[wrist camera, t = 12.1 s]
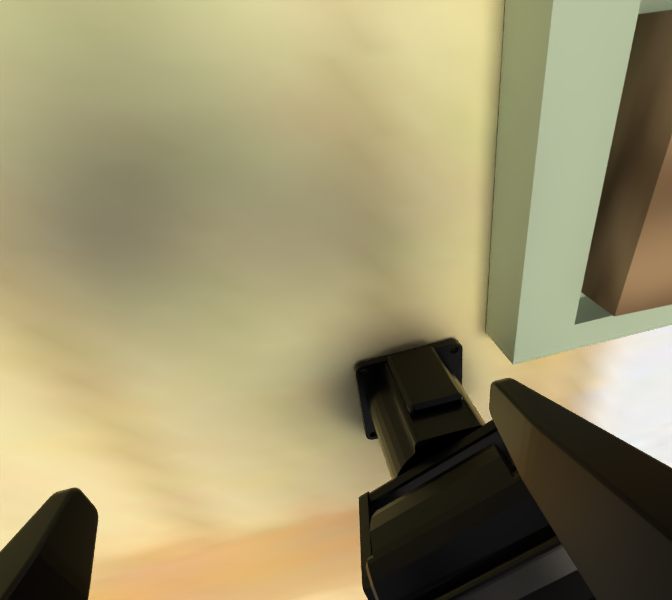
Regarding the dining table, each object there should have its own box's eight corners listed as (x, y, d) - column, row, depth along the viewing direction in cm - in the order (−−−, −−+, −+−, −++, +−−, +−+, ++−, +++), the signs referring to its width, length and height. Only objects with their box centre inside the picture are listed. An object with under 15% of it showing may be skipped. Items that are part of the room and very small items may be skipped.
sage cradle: (668, 287, 25) (714, 314, 23) (485, 332, 24) (512, 364, 22) (802, -108, 16) (909, -139, 13) (508, -57, 15) (561, -80, 12)
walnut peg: (624, 269, 23) (680, 302, 20) (566, 281, 22) (614, 316, 19) (706, 4, 16) (807, -6, 13) (625, 15, 16) (711, 7, 13)
